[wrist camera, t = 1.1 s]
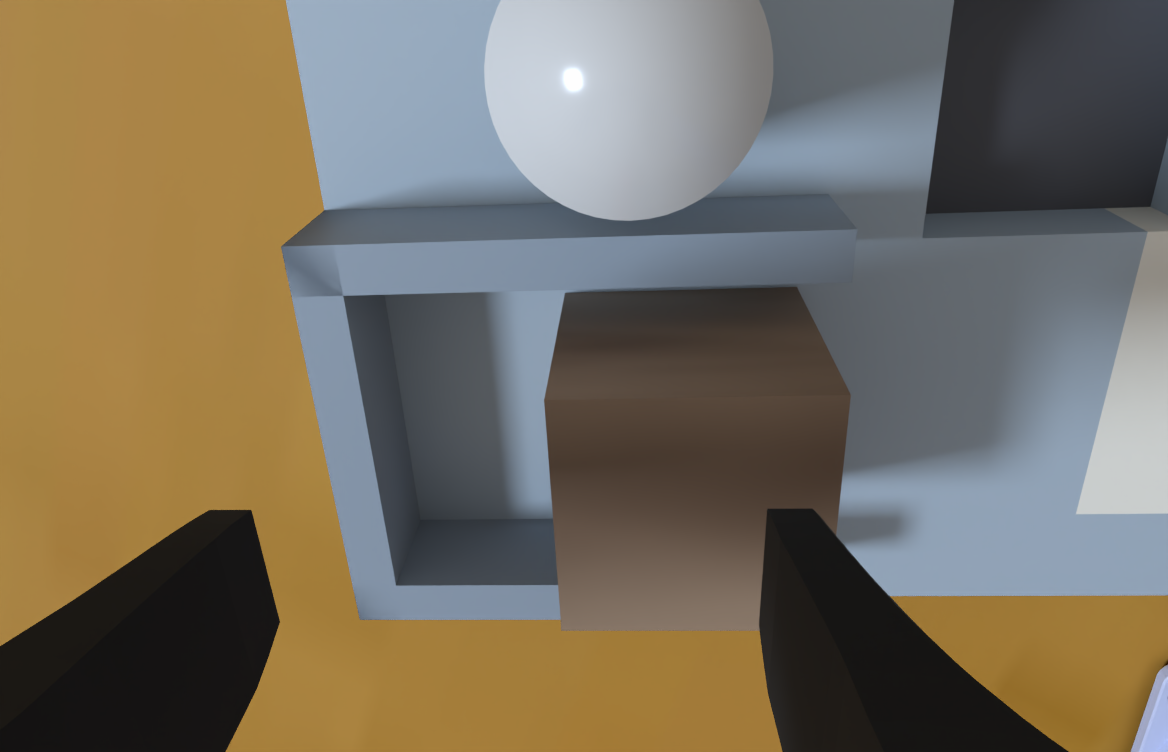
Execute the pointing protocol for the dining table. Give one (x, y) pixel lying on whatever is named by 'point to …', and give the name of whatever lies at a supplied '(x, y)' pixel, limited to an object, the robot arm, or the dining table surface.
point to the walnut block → (684, 450)
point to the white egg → (628, 98)
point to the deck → (762, 260)
